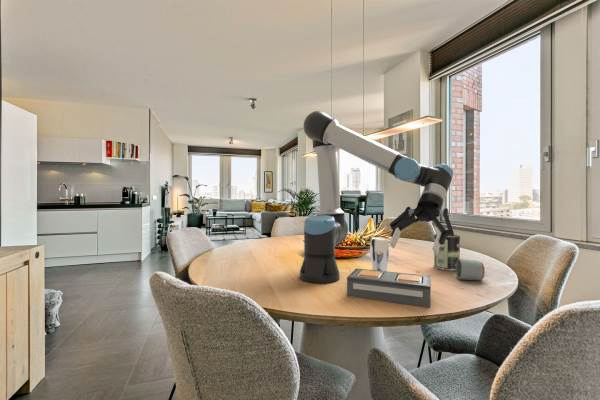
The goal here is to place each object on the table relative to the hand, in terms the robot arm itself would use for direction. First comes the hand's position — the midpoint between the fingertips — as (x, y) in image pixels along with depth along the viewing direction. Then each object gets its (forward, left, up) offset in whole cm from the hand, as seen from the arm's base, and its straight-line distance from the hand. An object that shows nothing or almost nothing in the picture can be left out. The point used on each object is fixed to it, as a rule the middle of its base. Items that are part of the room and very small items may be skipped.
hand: (412, 248), depth 95 cm
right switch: (-1, -2, -12) cm, 12 cm away
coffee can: (+11, +45, -15) cm, 49 cm away
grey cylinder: (+18, +30, -15) cm, 38 cm away
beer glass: (-13, +17, -15) cm, 26 cm away
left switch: (-13, -2, -12) cm, 18 cm away
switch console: (-7, -2, -15) cm, 17 cm away
